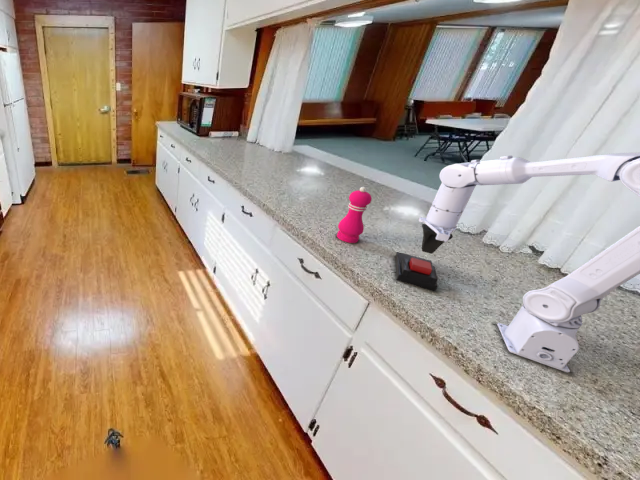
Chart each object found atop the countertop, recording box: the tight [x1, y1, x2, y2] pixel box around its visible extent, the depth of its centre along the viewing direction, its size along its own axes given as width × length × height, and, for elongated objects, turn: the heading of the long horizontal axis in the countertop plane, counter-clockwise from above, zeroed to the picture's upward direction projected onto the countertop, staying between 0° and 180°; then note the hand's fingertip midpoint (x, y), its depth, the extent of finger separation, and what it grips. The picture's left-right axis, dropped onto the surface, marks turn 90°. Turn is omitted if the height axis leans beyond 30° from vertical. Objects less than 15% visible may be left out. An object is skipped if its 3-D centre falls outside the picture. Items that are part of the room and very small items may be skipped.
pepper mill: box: [336, 186, 373, 244], centre depth 101 cm, size 7×7×20 cm
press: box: [394, 251, 439, 292], centre depth 86 cm, size 14×8×4 cm, turn 142°
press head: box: [409, 258, 432, 275], centre depth 83 cm, size 4×4×2 cm
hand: (426, 251), depth 81 cm, fingers closed
